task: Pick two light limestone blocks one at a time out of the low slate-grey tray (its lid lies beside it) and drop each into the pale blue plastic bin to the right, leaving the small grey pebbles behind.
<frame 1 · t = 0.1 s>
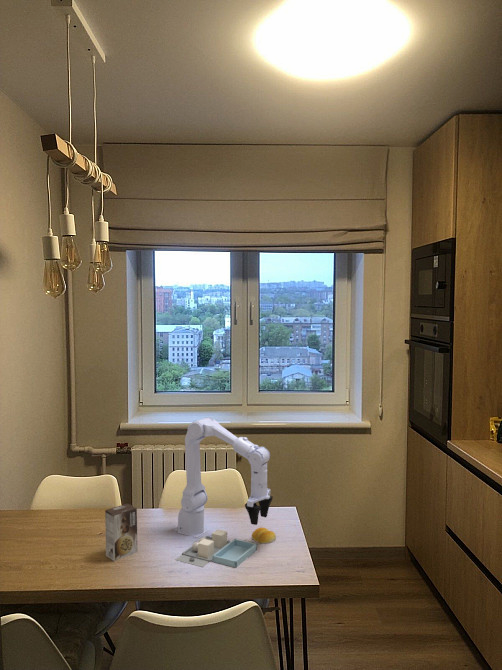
hand: (259, 520, 184), 10 cm above the table, tool pointing down, fingers open, 7 cm apart
bread roll: (263, 540, 192), on the table
coffee box: (121, 555, 179), on the table
slate tray: (208, 550, 183), on the table
blue bin: (235, 556, 178), on the table
pebble b: (196, 551, 181), resting on slate tray
pebble a: (202, 546, 184), resting on slate tray
stone block near: (205, 555, 178), resting on slate tray
stone block far: (219, 544, 186), resting on slate tray
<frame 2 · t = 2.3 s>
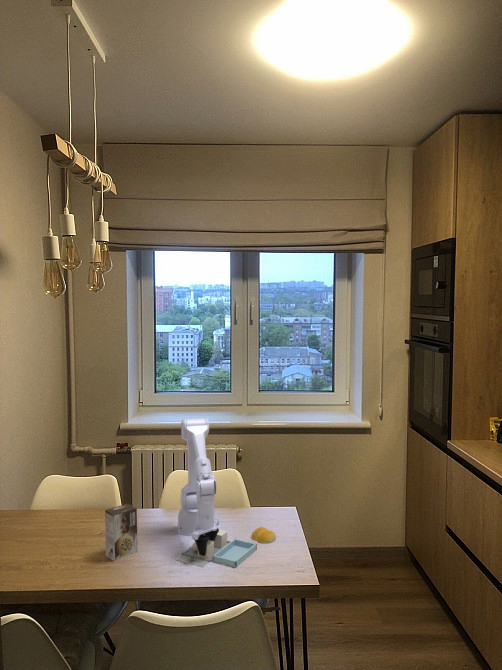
hand: (205, 552, 178), 1 cm above the table, tool pointing down, fingers closed on stone block near, 4 cm apart
stone block near: (205, 555, 178), resting on slate tray, touching gripper
everything else where it was.
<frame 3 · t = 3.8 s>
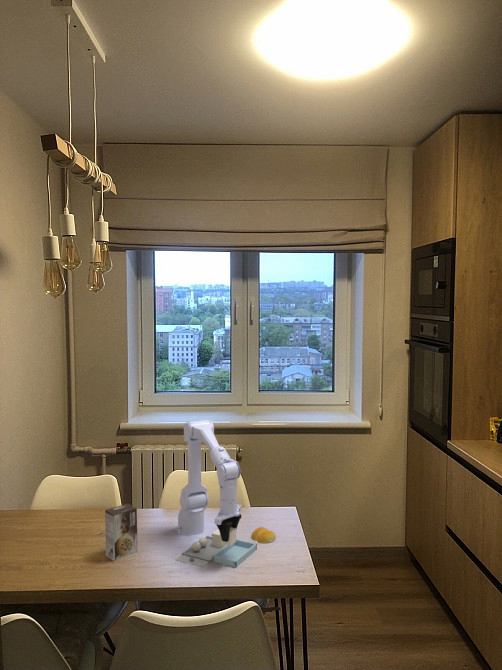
hand: (228, 538, 173), 8 cm above the table, tool pointing down, fingers closed on stone block near, 4 cm apart
stone block near: (228, 542, 173), point 7 cm above the table, touching gripper
everything else where it was.
when the fingers open (4 cm above the table, at t = 4.8 s): stone block near drops 2 cm, resting on blue bin.
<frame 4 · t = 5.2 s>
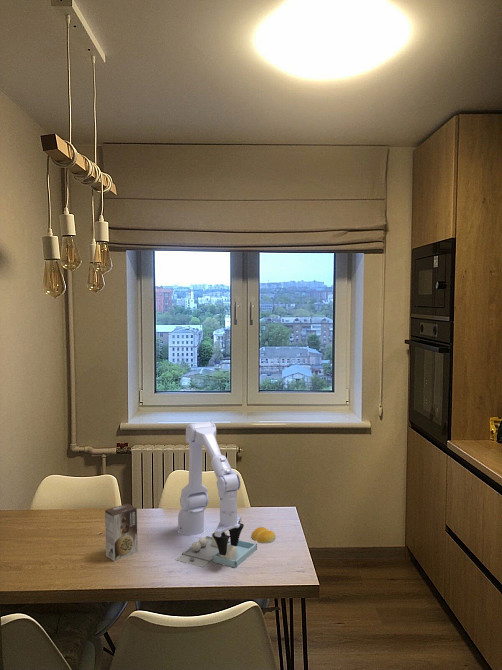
hand: (228, 550, 173), 4 cm above the table, tool pointing down, fingers open, 7 cm apart
stone block near: (228, 561, 174), resting on blue bin
everything else where it was.
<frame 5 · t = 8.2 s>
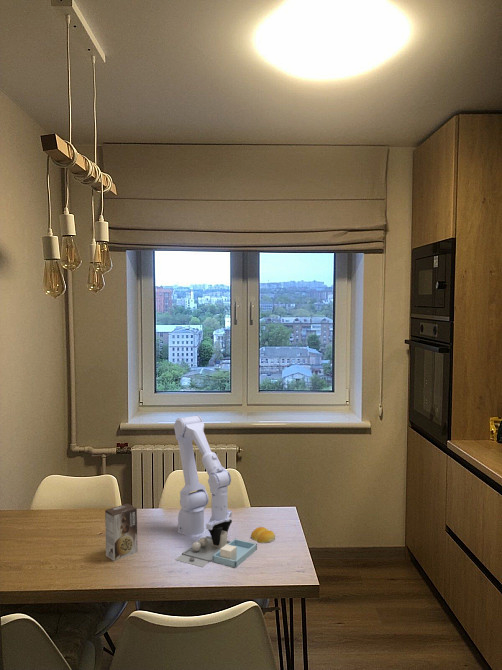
hand: (219, 542, 186), 1 cm above the table, tool pointing down, fingers closed on stone block far, 4 cm apart
stone block far: (219, 544, 186), resting on slate tray, touching gripper
everything else where it was.
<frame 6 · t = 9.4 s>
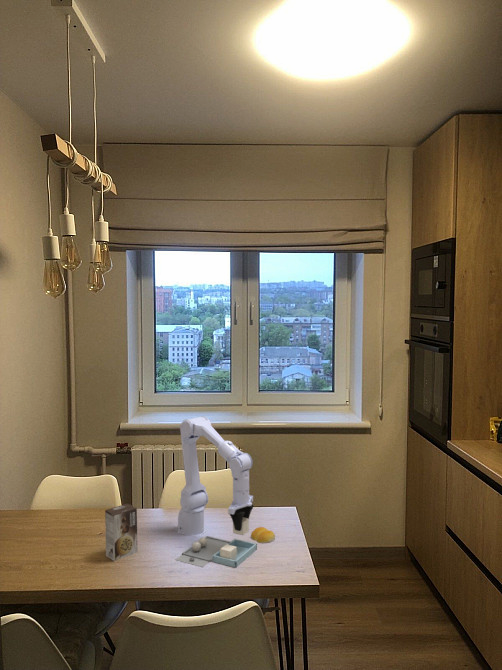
hand: (241, 527, 181), 8 cm above the table, tool pointing down, fingers closed on stone block far, 4 cm apart
stone block far: (240, 532, 181), point 7 cm above the table, touching gripper
everything else where it was.
when the fingers open (4 cm above the table, at t = 10.6 s): stone block far drops 2 cm, resting on blue bin.
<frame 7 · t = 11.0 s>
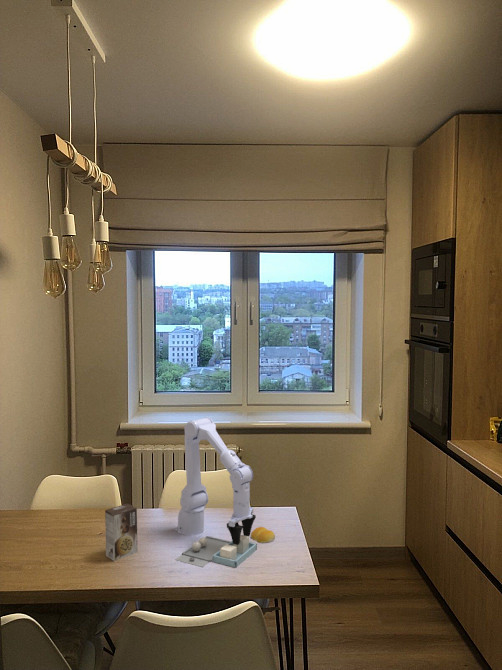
hand: (241, 539, 181), 4 cm above the table, tool pointing down, fingers open, 7 cm apart
stone block far: (241, 550, 182), resting on blue bin
everything else where it was.
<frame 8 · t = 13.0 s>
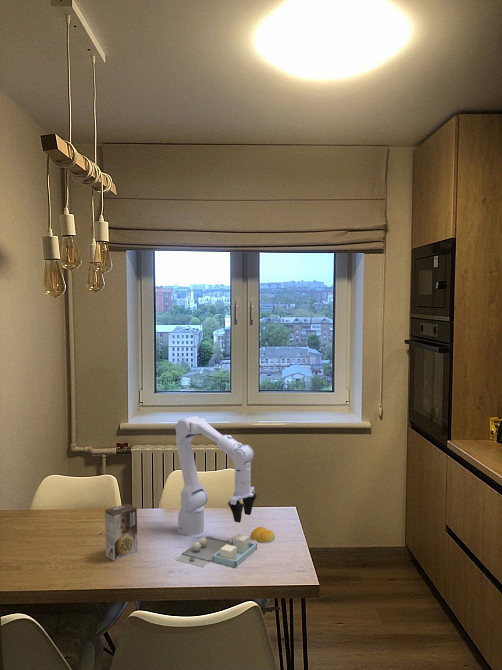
hand: (242, 518, 185), 10 cm above the table, tool pointing down, fingers open, 7 cm apart
nothing on the table moved.
at the end: stone block near inside the target area on the blue bin (4.7 cm from its centre), point 0.5 cm above the blue bin's base; stone block far inside the target area on the blue bin (4.4 cm from its centre), point 0.5 cm above the blue bin's base; the gripper is holding nothing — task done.
